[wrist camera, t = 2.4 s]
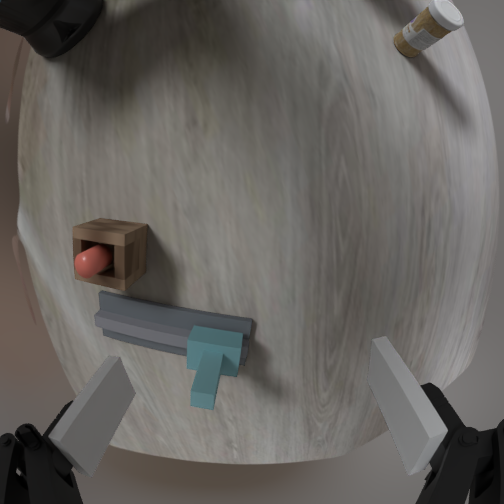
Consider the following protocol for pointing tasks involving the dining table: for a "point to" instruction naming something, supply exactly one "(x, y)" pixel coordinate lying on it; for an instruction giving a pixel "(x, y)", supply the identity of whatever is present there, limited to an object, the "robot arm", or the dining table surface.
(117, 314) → the rail bed
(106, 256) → the cylinder
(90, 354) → the dining table surface
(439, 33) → the sprinkles bottle
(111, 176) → the dining table surface
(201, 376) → the carriage
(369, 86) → the dining table surface
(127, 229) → the open wooden box
